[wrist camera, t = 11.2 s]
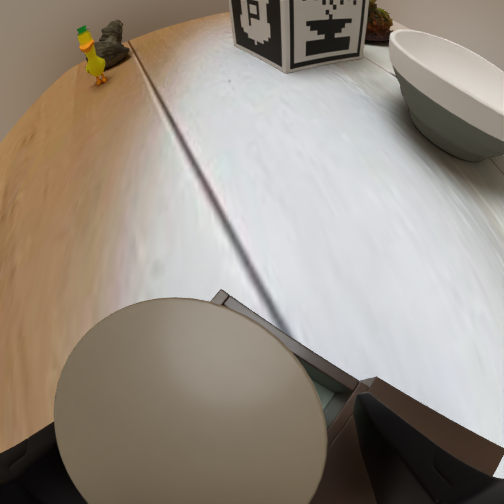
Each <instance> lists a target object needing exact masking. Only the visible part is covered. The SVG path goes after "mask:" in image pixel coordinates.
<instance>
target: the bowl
mask: <svg viewBox="0 0 504 504" xmlns="http://www.w3.org/2000/svg"><path fill="white" fill-rule="evenodd" d="M389 54H390V60H391V63H392V65H393V68H394V71H395V75H396V78H397V79H398V81H399V83H400V88H401V92H402V95H403V97H404V99H405V101H406V103H407V105H408V106H409V112H410V116H411V119H412V121H413V123H414V124H415V126H416V127H417V128H418V130H419V131H420V132H421V133H422V134H423V135H424V136H425V137H426V138H428V139H429V140H430V141H431V142H432V143H434V144H435V145H437V146H438V147H439V148H441V149H443V150H444V151H446V152H447V153H449V154H452V155H454V156H455V157H458V158H461V159H463V160H467V161H476V162H477V161H481V160H484V159H486V158H487V157H494V156H499V155H503V154H504V72H503V71H502V70H500V69H499V68H497V67H496V66H495V65H493V64H492V63H490V62H489V61H487V60H486V59H484V58H483V57H481V56H479V55H478V54H476V53H474V52H472V51H470V50H469V49H467V48H465V47H462V46H461V45H458V44H456V43H454V42H451V41H449V40H446V39H444V38H441V37H438V36H435V35H432V34H429V33H424V32H420V31H415V30H403V29H402V30H396V31H394V32H392V33H391V34H390V38H389Z"/></svg>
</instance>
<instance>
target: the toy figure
mask: <svg viewBox="0 0 504 504" xmlns="http://www.w3.org/2000/svg"><path fill="white" fill-rule="evenodd" d="M77 31H78V32H79V34H78V40H79V42H80V45H81V46H80V47H79V48H80V50H81V51H83V52H84V53H85V54H86V56H87V58H88V63H87V66H86V67H85V68H86V71H87V73H90V74H92V75H93V76H96V78H97V80H98V81H96V83H97V85H98V86H99V85H101V83H102V82H103V83H105V82H106V81H107V79H106V77H104V75H103V72H104V68H105V60H104V59H102V58H100V57H98V56H96V52H95V47H94V40H92V37H91V34H90V31H87V30H86V25H85V26H83V27H81V28H79V29H77ZM99 75H102V79H100V80H99V77H98V76H99ZM101 80H102V81H101Z"/></svg>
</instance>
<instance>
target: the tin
mask: <svg viewBox="0 0 504 504" xmlns="http://www.w3.org/2000/svg"><path fill="white" fill-rule="evenodd" d="M54 426H55V433H56V439H57V444H58V448H59V451H60V455H61V458H62V460H63V463H64V465H65V468H66V470H67V472H68V474H69V476H70V478H71V480H72V481H73V483H74V485H75V487H76V488H77V489H78V491H79V492H80V494H81V495H82V496H83V498H84V499H85V500H86V502H87V503H88V504H309V503H310V501H311V500H312V498H313V496H314V495H315V493H316V491H317V488H318V486H319V483H320V481H321V478H322V475H323V471H324V467H325V463H326V457H327V443H328V439H327V428H326V420H325V416H324V412H323V407H322V403H321V401H320V398H319V396H318V393H317V391H316V388H315V386H314V384H313V382H312V380H311V379H310V377H309V375H308V373H307V372H306V370H305V368H304V367H303V365H302V364H301V363H300V362H299V360H298V359H297V358H296V356H295V355H294V354H293V352H292V351H291V350H290V349H289V348H288V347H287V346H286V345H285V344H284V343H283V342H282V341H281V340H280V339H279V338H278V337H277V336H275V335H274V334H273V333H272V332H270V331H269V330H268V329H266V328H265V327H264V326H263V325H261V324H259V323H258V322H256V321H254V320H253V319H251V318H249V317H248V316H246V315H244V314H242V313H240V312H237V311H235V310H233V309H231V308H229V307H226V306H222V305H219V304H216V303H213V302H209V301H204V300H198V299H193V298H176V297H174V298H159V299H153V300H148V301H143V302H139V303H136V304H133V305H130V306H127V307H125V308H122V309H120V310H118V311H116V312H114V313H112V314H111V315H109V316H107V317H106V318H104V319H103V320H101V321H100V322H99V323H97V324H96V325H95V326H94V327H93V328H92V329H90V330H89V331H88V332H87V333H86V334H85V335H84V337H83V338H82V339H81V340H80V341H79V342H78V344H77V345H76V346H75V348H74V349H73V351H72V352H71V354H70V355H69V357H68V359H67V361H66V363H65V365H64V368H63V370H62V373H61V376H60V379H59V382H58V386H57V390H56V395H55V404H54Z"/></svg>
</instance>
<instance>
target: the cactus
mask: <svg viewBox="0 0 504 504" xmlns="http://www.w3.org/2000/svg"><path fill="white" fill-rule="evenodd" d="M375 1H376V0H369V7H368V16H367V25H366V34H365V40H373V41H386V40H388V39H389V38H390V34H391V33H392V32H393V30H392V31H390V30H389V28H390V26H392V25H393V23H392V19H391V18H390V17H389V15H388V14H389V13H387V12H386V11H384V10H383V9H381V8H377V6H376V5H377V4H374V3H375Z"/></svg>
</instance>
